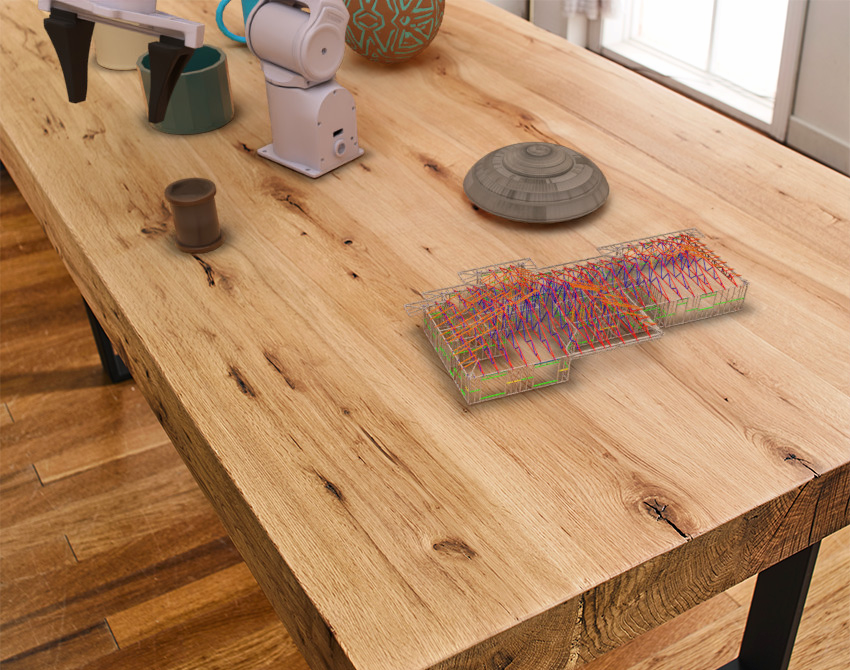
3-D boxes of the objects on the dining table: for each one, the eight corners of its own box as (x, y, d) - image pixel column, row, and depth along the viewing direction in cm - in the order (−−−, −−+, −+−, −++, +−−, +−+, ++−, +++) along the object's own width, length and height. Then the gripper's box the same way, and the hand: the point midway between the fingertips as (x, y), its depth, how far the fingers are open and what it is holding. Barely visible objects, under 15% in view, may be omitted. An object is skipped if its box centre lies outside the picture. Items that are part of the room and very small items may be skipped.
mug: (296, 29, 135) (290, -31, 130) (311, 48, 129) (305, -14, 124) (214, 40, 132) (205, -21, 127) (225, 59, 126) (216, -4, 121)
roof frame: (687, 245, 89) (697, 195, 85) (783, 332, 78) (799, 279, 75) (391, 307, 82) (389, 255, 78) (452, 412, 71) (453, 358, 67)
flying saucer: (615, 174, 100) (622, 125, 96) (597, 243, 89) (604, 191, 86) (480, 158, 103) (482, 110, 99) (446, 224, 92) (447, 173, 89)
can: (97, 73, 123) (74, -23, 115) (96, 49, 130) (74, -43, 122) (168, 66, 125) (149, -30, 117) (163, 42, 131) (146, -49, 123)
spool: (235, 239, 91) (226, 187, 87) (196, 258, 88) (185, 206, 84) (203, 223, 93) (194, 172, 89) (165, 242, 90) (153, 190, 87)
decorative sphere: (425, 86, 119) (423, -40, 109) (317, 74, 122) (306, -50, 112) (458, 46, 129) (459, -72, 119) (358, 36, 133) (351, -80, 123)
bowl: (251, 114, 113) (243, 56, 108) (184, 142, 107) (173, 82, 102) (198, 93, 118) (188, 36, 113) (132, 118, 112) (118, 60, 107)
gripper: (20, -71, 76) (19, 98, 82) (189, -29, 76) (175, 137, 82) (61, -69, 82) (58, 88, 89) (218, -30, 82) (203, 124, 88)
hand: (116, 111), depth 86 cm, fingers open, 7 cm apart
